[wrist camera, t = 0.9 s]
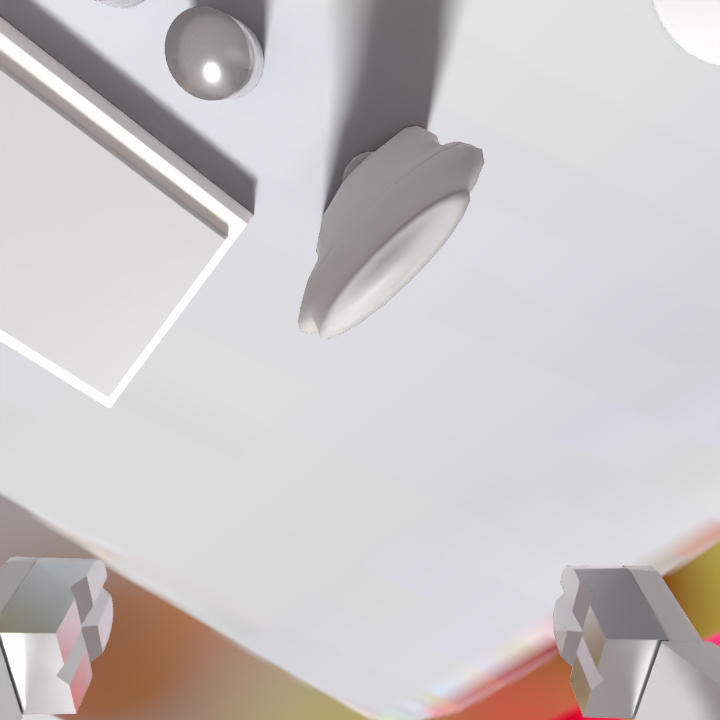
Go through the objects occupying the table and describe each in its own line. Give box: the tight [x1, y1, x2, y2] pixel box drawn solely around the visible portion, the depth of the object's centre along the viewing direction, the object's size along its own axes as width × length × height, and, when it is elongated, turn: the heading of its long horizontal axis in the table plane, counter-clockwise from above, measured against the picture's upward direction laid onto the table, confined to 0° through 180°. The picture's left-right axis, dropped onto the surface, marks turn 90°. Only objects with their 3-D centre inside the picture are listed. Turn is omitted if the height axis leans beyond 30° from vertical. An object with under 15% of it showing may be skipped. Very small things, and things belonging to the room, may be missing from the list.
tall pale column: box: [298, 125, 484, 339], centre depth 31 cm, size 11×4×22 cm, turn 136°
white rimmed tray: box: [0, 17, 253, 409], centre depth 40 cm, size 18×22×4 cm
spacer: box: [165, 6, 264, 100], centre depth 35 cm, size 5×5×6 cm
